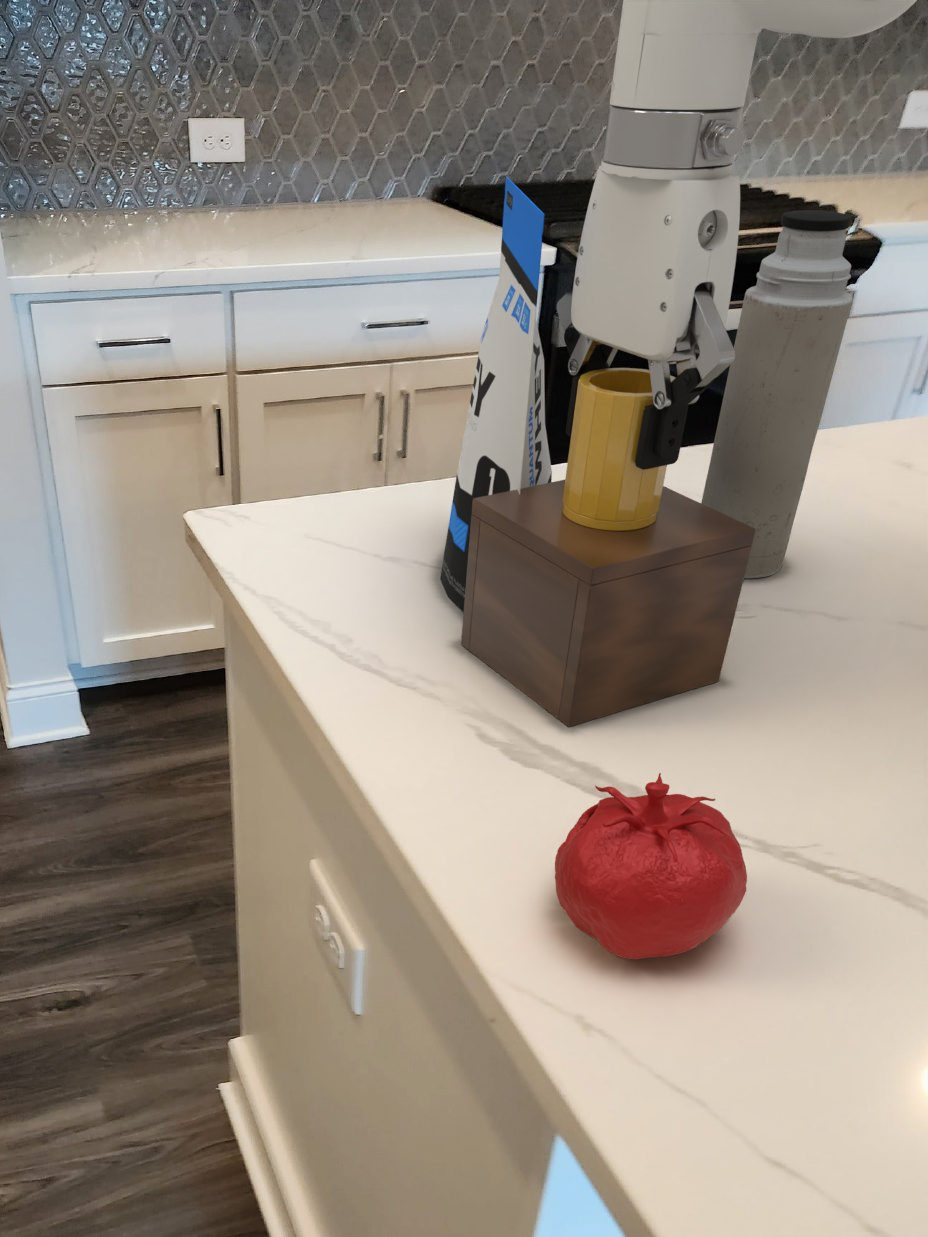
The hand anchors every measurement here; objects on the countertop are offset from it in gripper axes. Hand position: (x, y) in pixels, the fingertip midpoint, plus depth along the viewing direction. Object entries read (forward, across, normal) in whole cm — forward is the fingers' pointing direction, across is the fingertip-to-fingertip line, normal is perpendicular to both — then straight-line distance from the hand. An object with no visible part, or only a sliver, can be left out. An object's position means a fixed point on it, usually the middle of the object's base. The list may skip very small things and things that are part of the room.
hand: (619, 446), depth 75 cm
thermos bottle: (+17, +9, -24) cm, 31 cm away
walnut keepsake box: (+17, 0, 0) cm, 17 cm away
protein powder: (+17, +16, -2) cm, 23 cm away
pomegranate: (+17, -25, +16) cm, 34 cm away
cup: (+5, 0, 0) cm, 5 cm away
